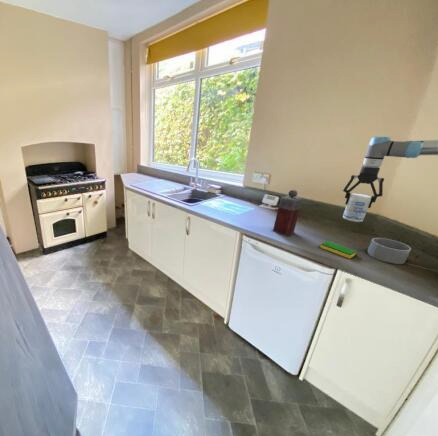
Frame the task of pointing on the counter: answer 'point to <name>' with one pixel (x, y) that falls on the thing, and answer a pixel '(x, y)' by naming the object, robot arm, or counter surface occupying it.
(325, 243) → the dish sponge
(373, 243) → the gray round bowl
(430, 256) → the counter surface
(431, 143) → the robot arm
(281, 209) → the glass decanter
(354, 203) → the supplement tub
